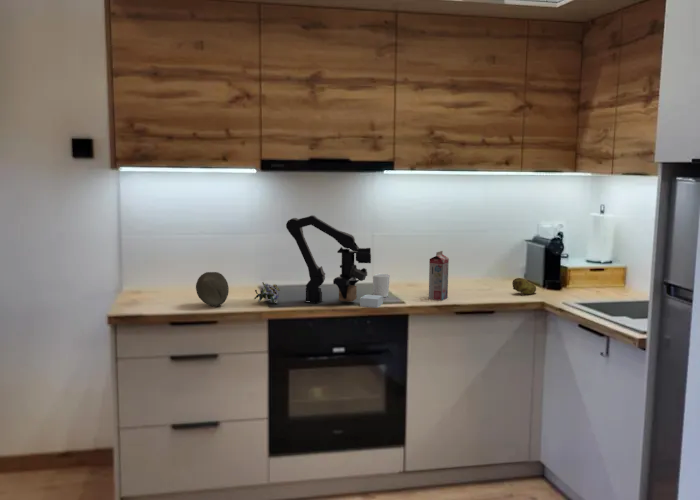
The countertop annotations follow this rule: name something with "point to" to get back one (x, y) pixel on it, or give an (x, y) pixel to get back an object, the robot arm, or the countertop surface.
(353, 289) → the walnut cube
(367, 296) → the riser block
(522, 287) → the potato
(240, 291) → the countertop surface
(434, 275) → the juice carton
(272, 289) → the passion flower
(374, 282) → the white cup
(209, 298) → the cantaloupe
